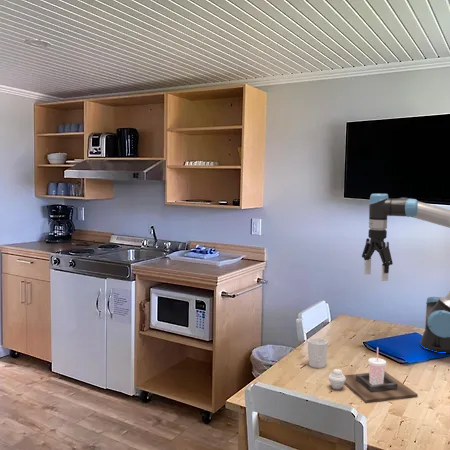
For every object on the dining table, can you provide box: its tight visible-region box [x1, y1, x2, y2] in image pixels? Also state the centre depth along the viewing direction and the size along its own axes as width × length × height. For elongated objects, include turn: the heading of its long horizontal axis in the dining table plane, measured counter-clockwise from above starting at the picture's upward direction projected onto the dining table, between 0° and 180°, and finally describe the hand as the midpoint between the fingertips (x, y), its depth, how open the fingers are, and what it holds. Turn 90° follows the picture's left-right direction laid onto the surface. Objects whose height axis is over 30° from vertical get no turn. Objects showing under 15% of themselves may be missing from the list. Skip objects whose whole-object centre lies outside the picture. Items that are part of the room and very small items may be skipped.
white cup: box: [307, 337, 328, 369], centre depth 189 cm, size 8×8×10 cm
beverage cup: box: [367, 346, 387, 385], centre depth 168 cm, size 6×6×14 cm
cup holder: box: [343, 371, 419, 404], centre depth 169 cm, size 20×20×3 cm
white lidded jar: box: [328, 368, 346, 390], centre depth 168 cm, size 6×6×7 cm
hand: (375, 277), depth 204 cm, fingers open, 13 cm apart
